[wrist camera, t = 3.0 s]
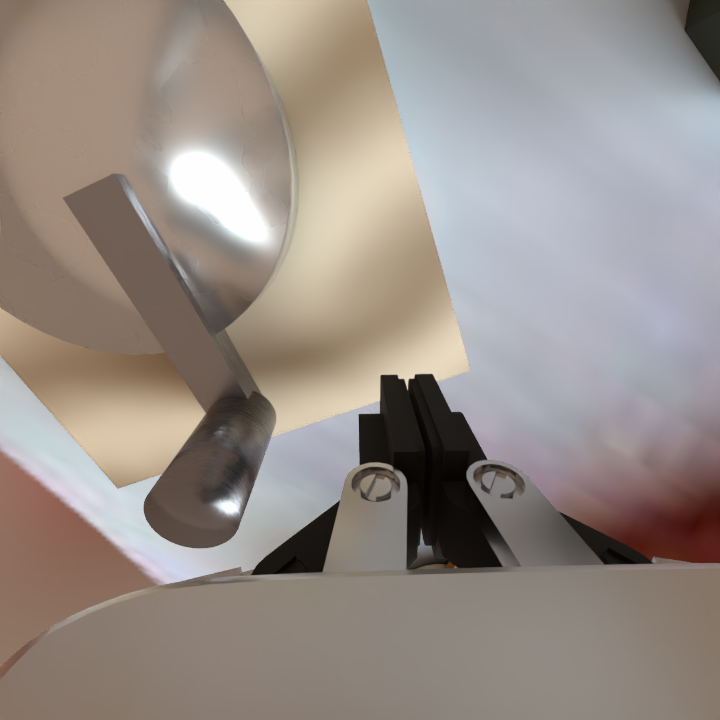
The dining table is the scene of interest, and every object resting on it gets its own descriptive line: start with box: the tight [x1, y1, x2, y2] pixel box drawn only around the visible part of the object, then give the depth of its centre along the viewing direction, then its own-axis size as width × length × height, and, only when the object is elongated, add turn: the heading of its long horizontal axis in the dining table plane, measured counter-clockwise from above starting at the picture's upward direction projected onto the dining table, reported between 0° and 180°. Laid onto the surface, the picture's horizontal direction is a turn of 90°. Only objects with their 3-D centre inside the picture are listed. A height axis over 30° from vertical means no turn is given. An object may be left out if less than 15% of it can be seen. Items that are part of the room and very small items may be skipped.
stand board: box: [0, 0, 470, 488], centre depth 13 cm, size 24×19×2 cm
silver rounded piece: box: [0, 0, 299, 548], centre depth 10 cm, size 19×12×7 cm, turn 21°
